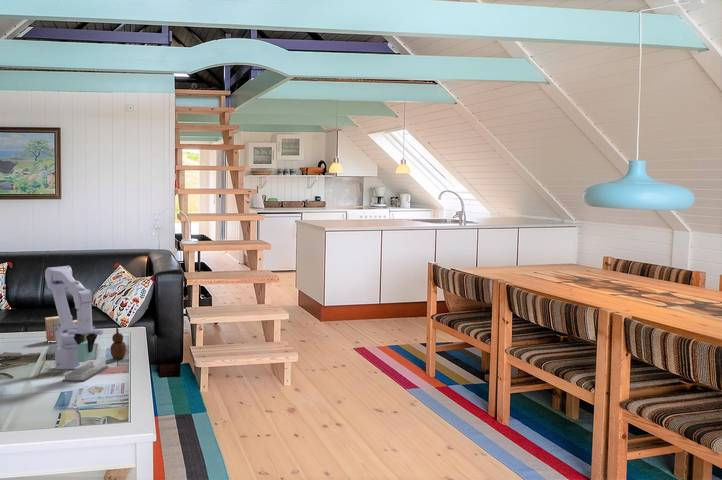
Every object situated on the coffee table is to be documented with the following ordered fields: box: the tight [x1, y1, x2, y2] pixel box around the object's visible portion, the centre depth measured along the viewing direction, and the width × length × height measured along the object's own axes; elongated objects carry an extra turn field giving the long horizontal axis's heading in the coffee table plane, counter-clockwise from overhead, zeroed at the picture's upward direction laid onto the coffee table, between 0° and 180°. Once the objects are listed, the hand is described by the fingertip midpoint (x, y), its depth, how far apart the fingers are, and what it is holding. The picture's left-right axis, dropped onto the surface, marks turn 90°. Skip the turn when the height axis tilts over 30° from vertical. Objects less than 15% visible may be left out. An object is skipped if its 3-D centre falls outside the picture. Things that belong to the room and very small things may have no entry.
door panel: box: [77, 341, 96, 363], centre depth 299 cm, size 3×9×7 cm, turn 175°
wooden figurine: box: [110, 325, 127, 360], centre depth 325 cm, size 7×6×15 cm
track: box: [62, 360, 109, 383], centre depth 299 cm, size 9×22×3 cm, turn 175°
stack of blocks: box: [44, 315, 77, 342], centre depth 368 cm, size 21×6×12 cm, turn 120°
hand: (86, 351), depth 299 cm, fingers closed on door panel, 3 cm apart
